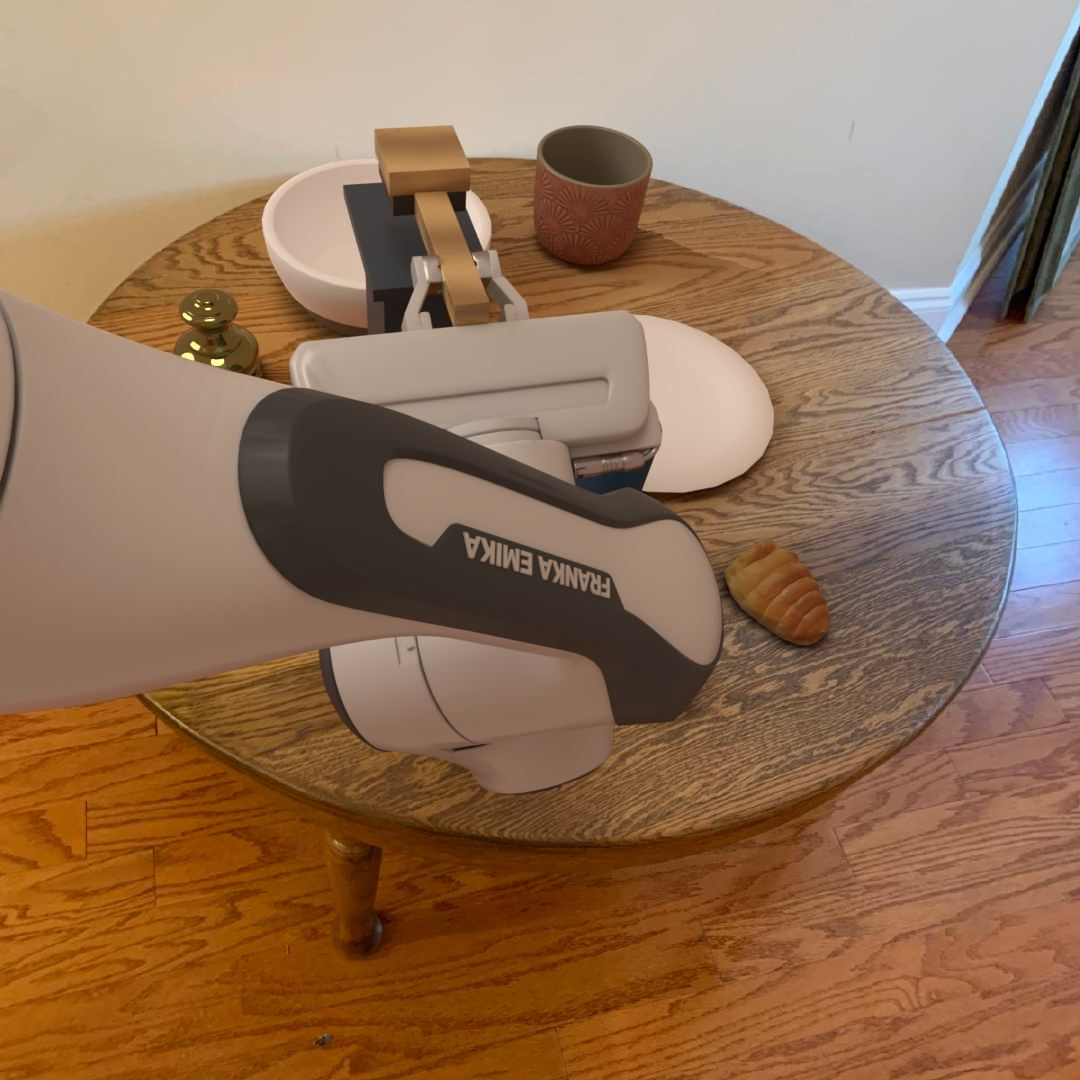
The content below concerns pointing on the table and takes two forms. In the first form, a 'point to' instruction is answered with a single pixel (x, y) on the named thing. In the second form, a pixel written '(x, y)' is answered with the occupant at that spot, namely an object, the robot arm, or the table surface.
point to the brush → (435, 207)
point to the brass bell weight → (217, 333)
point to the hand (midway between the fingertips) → (452, 257)
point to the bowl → (331, 242)
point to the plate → (702, 409)
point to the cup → (617, 479)
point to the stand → (393, 257)
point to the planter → (589, 192)
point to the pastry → (779, 593)
